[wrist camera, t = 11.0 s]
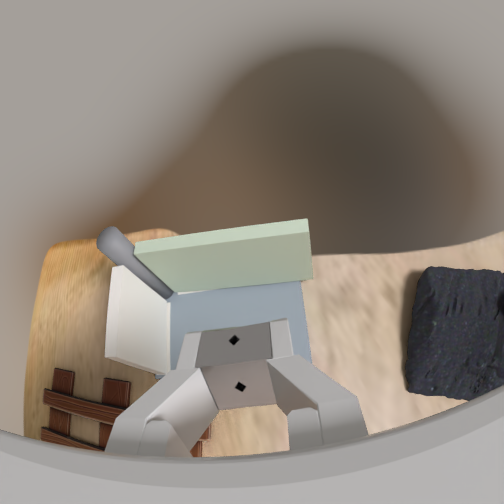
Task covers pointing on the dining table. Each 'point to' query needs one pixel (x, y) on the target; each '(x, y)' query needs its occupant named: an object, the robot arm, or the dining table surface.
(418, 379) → the dark slate chunk
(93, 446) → the decorative fence
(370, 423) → the dining table surface
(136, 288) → the fence post and white panel
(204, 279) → the green wall panel
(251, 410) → the dining table surface
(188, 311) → the card
